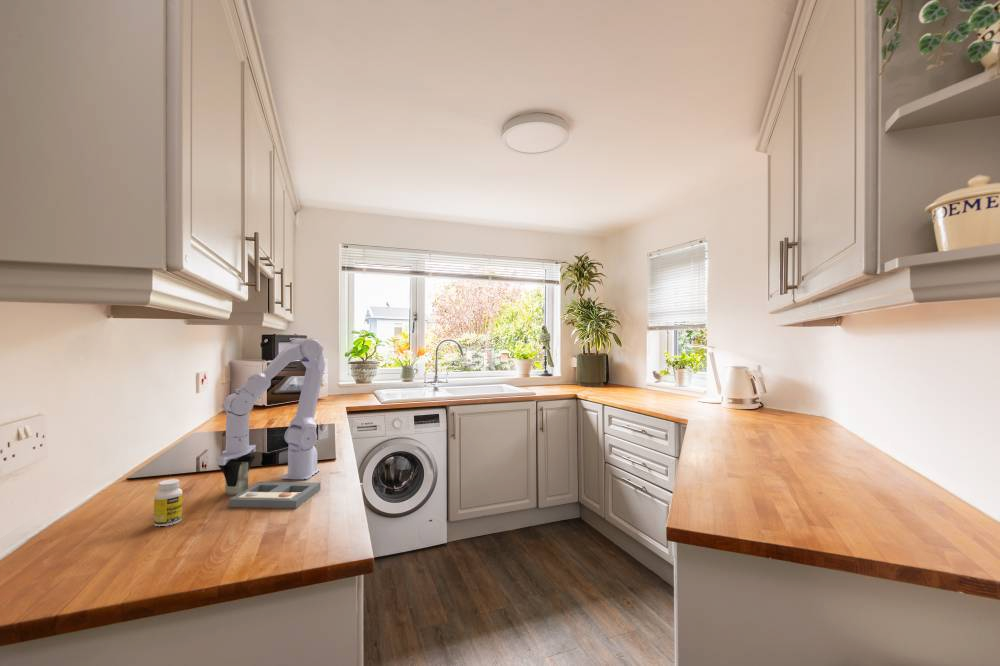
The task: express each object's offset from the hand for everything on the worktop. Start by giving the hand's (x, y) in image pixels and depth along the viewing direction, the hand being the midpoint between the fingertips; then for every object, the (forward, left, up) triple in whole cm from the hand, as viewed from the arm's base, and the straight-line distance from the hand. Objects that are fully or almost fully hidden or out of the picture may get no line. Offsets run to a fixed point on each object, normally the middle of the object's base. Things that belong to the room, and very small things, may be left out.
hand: (236, 483), depth 125 cm
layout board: (+4, +14, -2) cm, 15 cm away
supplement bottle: (+21, -3, -3) cm, 21 cm away
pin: (0, 0, -2) cm, 2 cm away
